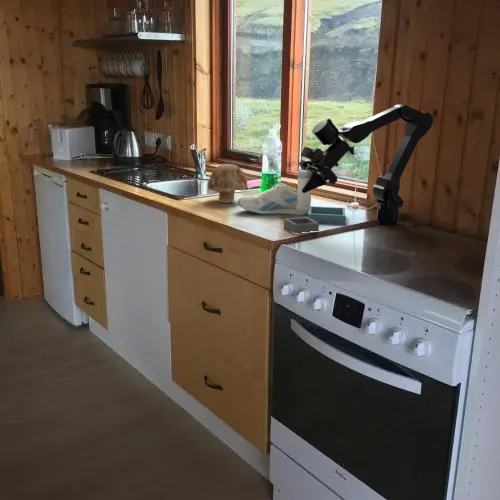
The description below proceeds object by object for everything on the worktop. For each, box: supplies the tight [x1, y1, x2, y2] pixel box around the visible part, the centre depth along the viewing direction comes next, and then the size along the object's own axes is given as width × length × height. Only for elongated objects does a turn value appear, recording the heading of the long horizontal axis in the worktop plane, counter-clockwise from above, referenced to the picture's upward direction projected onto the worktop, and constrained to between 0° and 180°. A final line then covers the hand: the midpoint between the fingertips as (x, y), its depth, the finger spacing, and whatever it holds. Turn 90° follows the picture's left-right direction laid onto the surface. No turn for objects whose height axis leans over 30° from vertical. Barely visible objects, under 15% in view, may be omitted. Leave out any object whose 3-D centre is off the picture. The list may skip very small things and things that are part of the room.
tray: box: [307, 205, 346, 225], centre depth 205 cm, size 13×13×3 cm
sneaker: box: [237, 182, 312, 216], centre depth 213 cm, size 10×27×11 cm, turn 95°
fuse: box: [296, 169, 311, 212], centre depth 188 cm, size 4×4×13 cm
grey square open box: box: [283, 216, 320, 234], centre depth 190 cm, size 8×8×3 cm
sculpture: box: [207, 163, 248, 204], centre depth 228 cm, size 15×16×15 cm
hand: (299, 190), depth 188 cm, fingers closed on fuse, 4 cm apart
